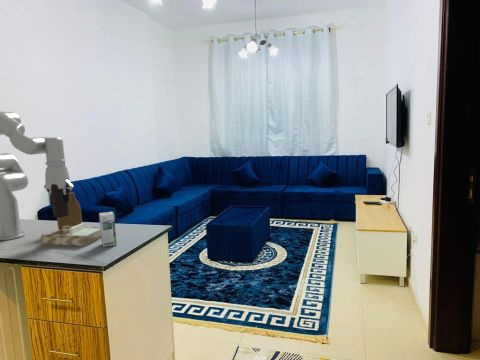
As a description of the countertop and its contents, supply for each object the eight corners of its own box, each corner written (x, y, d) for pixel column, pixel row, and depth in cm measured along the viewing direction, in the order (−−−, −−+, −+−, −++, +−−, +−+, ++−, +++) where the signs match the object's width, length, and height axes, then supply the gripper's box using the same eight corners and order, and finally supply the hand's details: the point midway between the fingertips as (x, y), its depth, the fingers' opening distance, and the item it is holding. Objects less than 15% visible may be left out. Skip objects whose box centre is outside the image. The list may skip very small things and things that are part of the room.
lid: (65, 236, 169) (64, 229, 168) (81, 229, 180) (81, 222, 179) (86, 237, 166) (85, 229, 166) (102, 230, 177) (101, 223, 177)
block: (64, 234, 186) (60, 195, 183) (57, 232, 191) (52, 193, 188) (84, 229, 194) (80, 191, 191) (77, 227, 199) (73, 190, 196)
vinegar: (54, 218, 170) (49, 175, 167) (53, 215, 176) (48, 173, 173) (70, 216, 173) (65, 173, 170) (69, 213, 179) (64, 172, 176)
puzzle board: (41, 244, 170) (40, 234, 170) (64, 234, 185) (63, 225, 184) (83, 246, 165) (82, 236, 165) (103, 236, 180) (102, 227, 179)
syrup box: (103, 247, 163) (100, 215, 161) (101, 243, 168) (98, 212, 166) (116, 245, 166) (114, 213, 164) (114, 241, 171) (112, 210, 169)
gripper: (34, 165, 169) (38, 204, 172) (66, 165, 165) (70, 204, 168) (46, 163, 176) (50, 200, 179) (77, 163, 172) (81, 201, 175)
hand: (60, 202), depth 173 cm, fingers closed on vinegar, 5 cm apart
